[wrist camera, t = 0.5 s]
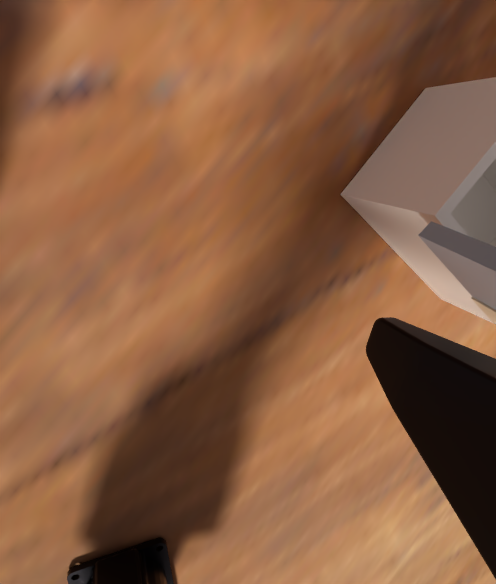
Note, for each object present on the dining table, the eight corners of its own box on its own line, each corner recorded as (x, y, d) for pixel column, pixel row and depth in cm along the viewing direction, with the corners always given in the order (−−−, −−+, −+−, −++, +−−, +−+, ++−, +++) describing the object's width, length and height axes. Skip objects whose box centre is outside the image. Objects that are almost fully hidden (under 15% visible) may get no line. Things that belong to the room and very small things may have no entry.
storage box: (440, 298, 31) (543, 346, 24) (340, 194, 26) (434, 215, 18) (511, 213, 31) (638, 235, 23) (425, 87, 25) (556, 67, 18)
